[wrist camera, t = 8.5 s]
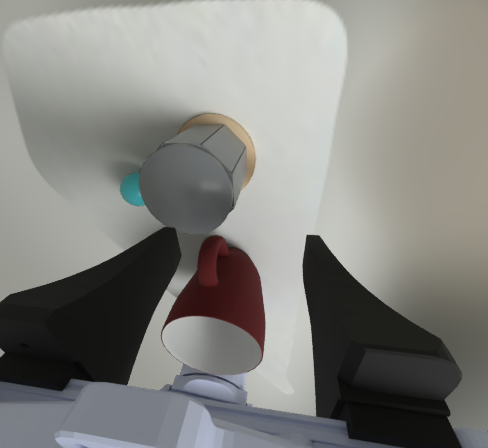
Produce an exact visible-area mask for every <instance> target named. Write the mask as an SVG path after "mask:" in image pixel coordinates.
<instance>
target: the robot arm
mask: <svg viewBox="0 0 488 448" xmlns="http://www.w3.org/2000/svg"><path fill="white" fill-rule="evenodd" d="M180 259H181V251H180V247H179V243H178V238H177V234H176V229H175V228H174V227H164V228H162V229H160V230H158V231H157V232H155V233H154V234H152V235H150V236H149V237H147V238H146V239H144V240H142V241H141V242H139V243H137V244H136V245H134V246H133V247H131V248H129V249H127V250H126V251H124V252H122V253H120V254H119V255H117V256H115V257H113V258H111V259H109V260H107V261H105V262H103V263H101V264H99V265H97V266H94V267H92V268H90V269H87V270H85V271H82V272H80V273H77V274H75V275H72V276H70V277H67V278H64V279H62V280H58V281H55V282H52V283H49V284H46V285H43V286H40V287H36V288H32V289H28V290H25V291H21V292H17V293H14V294H10V295H9V296H7V297H6V298H5V299H4V300H2V301H1V302H0V348H1V349H2V350H3V351H4V352H5V353H4V354H3V356H2V357H0V448H488V431H486V430H479V429H473V428H455V429H452V426H451V424H450V422H449V420H448V418H447V416H448V417H449V416H450V410H449V408H448V406H447V404H446V402H445V400H444V399H445V398H446V397H447V396H448V395H449V394H450V393H451V392H452V391H453V390H454V389H455V388H456V387H457V386H458V384H459V383H460V381H461V379H462V372H461V370H460V369H459V367H458V366H457V364H456V362H455V360H454V358H453V357H452V355H451V353H450V352H449V350H448V349H447V347H446V346H445V344H444V343H443V342H442V340H441V339H440V338H438V337H436V336H435V335H433V334H431V333H429V332H428V331H426V330H424V329H423V328H421V327H419V326H418V325H416V324H414V323H413V322H411V321H409V320H408V319H406V318H405V317H403V316H402V315H400V314H399V313H397V312H396V311H394V310H393V309H392V308H390V307H389V306H387V305H386V304H384V303H383V302H382V301H381V300H379V299H378V298H377V297H375V296H374V295H373V294H372V293H371V292H369V291H368V290H367V289H366V288H365V287H364V286H362V285H361V284H360V283H359V282H358V281H357V280H356V279H355V278H354V277H353V276H352V275H351V274H350V273H349V272H348V271H347V270H346V269H345V268H344V267H343V265H342V264H341V263H340V262H339V261H338V260H337V258H336V257H335V256H334V255H333V254H332V252H331V251H330V250H329V248H328V247H327V246H326V244H325V243H324V241H323V240H322V239H321V237H320V236H318V235H307V237H306V244H305V251H304V258H303V282H304V288H305V294H306V299H307V305H308V311H309V316H310V323H311V331H312V345H313V359H314V376H315V395H316V417H315V416H308V415H302V414H295V413H289V412H283V411H276V410H270V409H263V408H257V407H253V406H252V404H248V403H246V400H247V392H246V391H245V383H246V374H247V372H246V373H242V374H237V375H218V374H212V373H207V372H203V371H200V370H197V369H194V368H192V367H189V366H187V365H185V364H183V367H182V369H181V372H180V375H176V377H175V379H174V383H173V385H169V384H166V385H165V386H164V387H163V388H162V389H160V390H159V391H158V390H153V389H145V388H139V387H133V386H127V384H128V381H129V378H130V375H131V372H132V368H133V365H134V363H135V360H136V357H137V354H138V351H139V348H140V345H141V343H142V340H143V338H144V335H145V333H146V330H147V327H148V325H149V322H150V320H151V318H152V315H153V313H154V311H155V309H156V307H157V305H158V303H159V301H160V299H161V297H162V296H163V294H164V292H165V290H166V288H167V287H168V285H169V283H170V281H171V279H172V277H173V276H174V274H175V272H176V269H177V267H178V264H179V261H180Z"/></svg>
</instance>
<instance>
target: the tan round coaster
mask: <svg viewBox="0 0 488 448" xmlns="http://www.w3.org/2000/svg"><path fill="white" fill-rule="evenodd" d="M196 124H224V125H225V124H226V126H227V127H228V128H229V129H230V130H231V131H232V132H233V133H234V134H235V135H236V136H237V137H238V138H239V139H240V140H241V141H242V142H243V143H244V144H245V145H246V146H245V147H246V148H247V174H246V177H245V180H244V183H243V185H242V188H241V190H242V189H243V188H244V187H245V186H246V185H247V184H248V182H249V181H250V179H251V177H252V175H253V172H254V168H255V161H256V156H255V149H254V146H253V143H252V141H251V138H250V137H249V135H248V133H247V132H246V131H245V130H244V128H243V127H242V126H241V125H239V124H238V123H237V122H236V121H234V120H232V119H231V118H229V117H226V116H223V115H219V114H204V115H200V116H197V117H195V118H193V119H191V120H190V121H188V122H187V123H186V124H185V125H184V126H183V127H182V128H181V129H180V131H179V133H178V134H180V133H182V132H183V131H185V130H187V129H189V128H191V127H192V126H194V125H196ZM178 134H177V135H178Z"/></svg>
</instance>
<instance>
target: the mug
mask: <svg viewBox="0 0 488 448" xmlns="http://www.w3.org/2000/svg"><path fill="white" fill-rule="evenodd" d="M161 339H162V342H163V345H164V347H165V348H166V350H167V351H168V352H169V353H170V354H171V355H172V356H173V357H175V358H176V359H177V360H179V361H180V362H182V363H183V364H185V365H187V366H189V367H192V368H194V369H197V370H200V371H203V372H207V373H212V374H218V375H237V374H242V373H246V372H249V371H251V370H253V369H254V368H256V367H257V366H258V365H259V364H260V363H261V361H262V358H263V351H264V341H265V312H264V304H263V296H262V287H261V280H260V276H259V273H258V271H257V269H256V267H255V265H254V264H253V262H252V260H251V259H250V257H249V256H248V255H247V254H246V253H245V252H243V251H241V250H239V249H235V248H227V243H226V241H225V239H224V238H223V237H221V236H217V235H214V236H209V237H207V238H206V239H205V240H204V242H203V243H202V245H201V248H200V252H199V256H198V265H197V271H196V273H195V274H194V275H193V277H192V278H191V279H190V281H189V282H188V284H187V285H186V286H185V288H184V289H183V290H182V292H181V293H180V295H179V296H178V298H177V299H176V301H175V303H174V305H173V306H172V309H171V311H170V313H169V315H168V317H167V320H166V322H165V324H164V326H163V329H162V332H161Z"/></svg>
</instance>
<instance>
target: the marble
mask: <svg viewBox="0 0 488 448" xmlns="http://www.w3.org/2000/svg"><path fill="white" fill-rule="evenodd" d="M139 175H140V173H132V174H129V175H127V176H126V177H125V178H124V179H123V180H122V182H121V185H120V192H121V195H122V197H123V198H124V200H125V201H126V202H128V203H129V204H131V205H134V206H144V205H145V203H144V201H143V199H142V196H141V194H140V189H139Z"/></svg>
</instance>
